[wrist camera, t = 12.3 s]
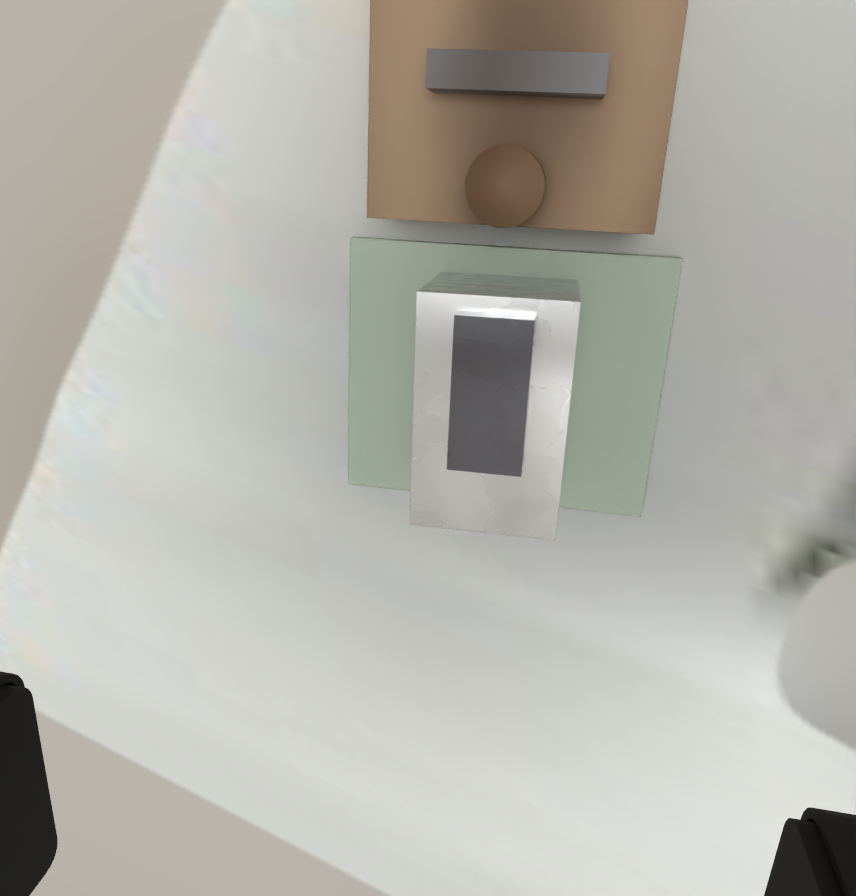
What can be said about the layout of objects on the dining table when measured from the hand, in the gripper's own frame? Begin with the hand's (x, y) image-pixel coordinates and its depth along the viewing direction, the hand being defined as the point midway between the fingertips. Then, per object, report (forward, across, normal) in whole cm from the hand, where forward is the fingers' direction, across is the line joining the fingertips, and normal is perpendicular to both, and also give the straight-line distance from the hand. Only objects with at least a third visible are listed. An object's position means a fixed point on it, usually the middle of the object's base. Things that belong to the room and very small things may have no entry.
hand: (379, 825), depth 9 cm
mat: (+22, 0, 0) cm, 22 cm away
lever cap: (+21, 0, 0) cm, 21 cm away
